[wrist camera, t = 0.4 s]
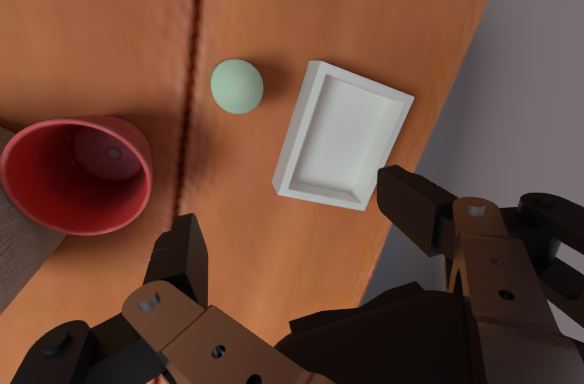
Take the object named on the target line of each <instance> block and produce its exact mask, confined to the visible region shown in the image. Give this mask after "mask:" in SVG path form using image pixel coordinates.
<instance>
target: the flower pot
mask: <svg viewBox="0 0 584 384" xmlns="http://www.w3.org/2000/svg"><path fill="white" fill-rule="evenodd" d="M0 180H1V183H2V186H3V189H4V191H5V192H6V194H7V196H8V197H9V199H10V200H11V202H12V203H13V204H14V205H15V207H16V208H18V209H19V210H20V211H21V212H22V213H23V214H25V215H26V216H27V217H28V218H30V219H31V220H33V221H34V222H36V223H38V224H40V225H42V226H44V227H46V228H49V229H52V230H54V231H58V232H61V233H66V234H72V235H99V234H104V233H109V232H112V231H115V230H118V229H120V228H122V227H124V226H126V225H128V224H129V223H131V222H132V221H134V220H135V219H136V218H137V217H138V216H139V215H140V214H141V213H142V212H143V210H144V209H145V208H146V206H147V204H148V202H149V200H150V197H151V193H152V188H153V165H152V157H151V151H150V146H149V143H148V141H147V139H146V137H145V136H144V134H143V133H142V132H141V131H140V130H139V129H138V128H137V127H136V126H134V125H133V124H131V123H130V122H128V121H126V120H123V119H121V118H118V117H113V116H100V115H93V116H78V117H67V118H58V119H51V120H46V121H42V122H38V123H35V124H33V125H31V126H29V127H27V128H25V129H23V130H22V131H20V132H19V133H17V134H16V135H15V136H14V137H13V138H12V139H11V140H10V141H9V142H8V144H7V145H6V147H5V148H4V150H3V153H2V155H1V158H0Z"/></svg>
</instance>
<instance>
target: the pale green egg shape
mask: <svg viewBox="0 0 584 384" xmlns="http://www.w3.org/2000/svg"><path fill="white" fill-rule="evenodd" d="M211 90H212V94H213V97H214V99H215V101H216V102H217V103H218V105H219V106H220V107H222V108H223V109H224V110H226V111H228V112H230V113H234V114H244V113H247V112H250V111H251V110H253V109H254V108H255V107H256V106H257V105H258V104H259V102H260V101H261V98H262V95H263V81H262V78H261V76H260V74H259V72H258V71H257V69H256V68H255V67H254V66H253V65H251V64H250V63H248V62H246V61H243V60H238V59H227V60H223V61H221V62H220V63H218V64H217V65H216V66H215V68H214V69H213V71H212V74H211Z"/></svg>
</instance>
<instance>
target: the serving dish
mask: <svg viewBox="0 0 584 384" xmlns="http://www.w3.org/2000/svg"><path fill="white" fill-rule="evenodd" d="M414 98H415V97H413V96H411V95H408V94H406V93H403V92H400V91H398V90H395V89H393V88H390V87H387V86H385V85H382V84H380V83H377V82H375V81H372V80H369V79H367V78H364V77H362V76H359V75H357V74H354V73H351V72H349V71H346V70H344V69H341V68H338V67H336V66H333V65H331V64H328V63H326V62H323V61H310V60H309V62H308V66H307V69H306V72H305V75H304V79H303V82H302V85H301V88H300V92H299V95H298V98H297V101H296V105H295V108H294V111H293V115H292V118H291V121H290V124H289V128H288V131H287V134H286V137H285V141H284V144H283V147H282V150H281V154H280V157H279V160H278V163H277V167H276V170H275V173H274V176H273V180H272V184H273V186H274V188H275V190H276V192H277V194H278V195H281V196H286V197H292V198H297V199H302V200H308V201H313V202H318V203H324V204H329V205H334V206H340V207H345V208H350V209H356V210H361V211H365V208H366V206H367V204H368V202H369V199H370V197H371V195H372V193H373V190H374V188H375V186H376V183H377V172H378V169H380V168H383V167H384V165H385V163H386V161H387V159H388V156H389V154H390V152H391V150H392V147H393V145H394V143H395V141H396V138H397V136H398V134H399V132H400V129H401V127H402V125H403V123H404V120H405V118H406V116H407V114H408V111H409V109H410V107H411V105H412V102H413V100H414Z"/></svg>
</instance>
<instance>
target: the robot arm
mask: <svg viewBox="0 0 584 384" xmlns="http://www.w3.org/2000/svg"><path fill="white" fill-rule="evenodd" d="M377 204H378V207H379V209H380V211H381V212H382V213H383V214H384V215H385V216H386V217H387V218H388V219H389V220H390V221H391V222H392V223H393V224H395V225H396V226H397V227H398V228H399V229H400V230H401V231H402V232H403V233H404V234H405V235H406V236H407V237H408V238H410V240H411V241H413V242H414V243H415V244H416V245H417V246H418V247H419V248H420V249H421V250H422V251H423V252H424V253H425V254H426V255H427V256H428V257H433V256H436V255H439V254H443V255H444V262H443V265H444V284H445V292H444V291H434V290H431V291H430V290H426V291H424V290H423V288H422V287H421V286H420V285H419V284H418V283H417V282H416V281H415V282H412V283H408V284H405V285H402V286H399V287H396V288H393V289H390V290H386V291H385V292H383V293H382V294H380V295H379V296H377V297H376V298H374V299H372V300H371V301H369V302H368V303H366V304H364V305H363V306H361V307H359V308H351V309H339V310H327V311H320V312H317V313H314V314H311V315H308V316H304V317H301V318H298V319H295V320H292V321H289V325H290V329H291V333H290V334H288V335H287V336H285V337H284V338H283V339H282V340H280V341H279V342H278V343H277V344H276V345H275V346H274V347H272V346H271V345H269V344H268V343H266V342H265V341H264V340H262V339H261V338H259V337H258V336H257V335H255V334H254V333H252V332H251V331H250V330H248V329H247V328H245V327H244V326H243V325H241V324H240V323H238V322H237V321H236V320H234V319H233V318H231V317H230V316H229V315H227V314H226V313H224V312H223V311H222V310H220V309H219V308H217V307H216V306H214V305H210V306H208V252H207V247H206V244H205V241H204V238H203V235H202V232H201V229H200V227H199V224H198V221H197V218H196V216H195V214H194V213H190V214H186V215H182V216H178V217H174V220H173V224H172V229H171V231H168V232H164V233H162V235H161V236H160V237H159V238H158V239H157V240H156V242H155V244H154V248H153V253H152V255H151V258H150V259H151V260H150V261H149V265H148V268H147V272H146V275H145V278H144V282H143V285H142V286H141V287H139V288H138V289H136V290H135V291H134V292H133V293H131V294H130V295H129V297H128V298H127V299H126V300H125V302H124V304H123V306H122V312H121V313H119V314H118V315H116V316H114V317H112V318H110V319H108V320H106V321H104V322H103V323H101V324H99V325H97V326H95V327H93V328H90V327H89V326H88V324H87V323H86V322H84V321H81V320H74V321H70V322H66V323H64V324H61V325H59V326H57V327H55V328H54V329H52V330H50V331H49V332H47V333H46V334H45V335H43V336H42V337H41V338H40V339H39V340H37V341H36V342H35V344H34V345H33V346H32V347H31V348H30V349H29V351H28V352H27V354H26V356H25V357H24V359H23V361H22V363H21V365H20V367H19V368H18V370H17V372H16V374H15V376H14V378H13V379H12V381H11V383H10V384H146V383H147V382H149V381H150V380H152V379H154V378H155V377H157V376H158V375H160V376H161V377H162V378H163V379H164V380H165V381H166V383H167V384H584V343H583V342H580V341H578V340H575V339H573V338H570V337H567V336H565V335H563V334H562V333H561V332H560V330H559V328H558V326H557V323H556V321H555V318H554V316H553V313H552V311H551V309H550V306H549V304H548V301H547V299H548V300H549V301H550V302H551V303H553V304H554V305H555V306H556V307H558V308H559V309H560V310H562V311H563V312H564V313H565V314H567V315H568V316H569V317H570V318H572V319H573V320H574V321H575V322H577V323H578V324H579V325H580V326H582V327H583V328H584V275H583V274H582V273H580V272H579V271H577V270H575V269H574V268H572V267H571V266H569V265H567V264H566V263H565V262H563V261H561V260H560V259H558V258H557V257H555V256H556V254H557V251H558V249H559V246H560V244H561V242H563V243H564V244H566V245H568V246H569V247H571V248H573V249H574V250H576V251H578V252H580V253H581V254H583V255H584V207H582V206H580V205H578V204H575V203H573V202H571V201H569V200H567V199H564V198H562V197H559V196H556V195H552V194H547V193H527V194H524V195H522V196H521V198H520V201H519V204H518V207H509V208H499V207H498V206H497V205H496V204H494V203H493V202H491V201H489V200H486V199H483V198H478V197H462V198H458V197H456V196H455V195H453V194H451V193H449V192H448V191H446V190H445V189H443V188H441V187H439V186H437V185H436V184H434V183H433V182H430V181H429V180H428V179H426V178H424V177H423V176H421V175H417V174H414V173H411V172H408V171H406V170H405V169H403V168H401V167H400V166H398V165H391V166H387V167H383V168H380V169H378V172H377Z"/></svg>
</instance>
